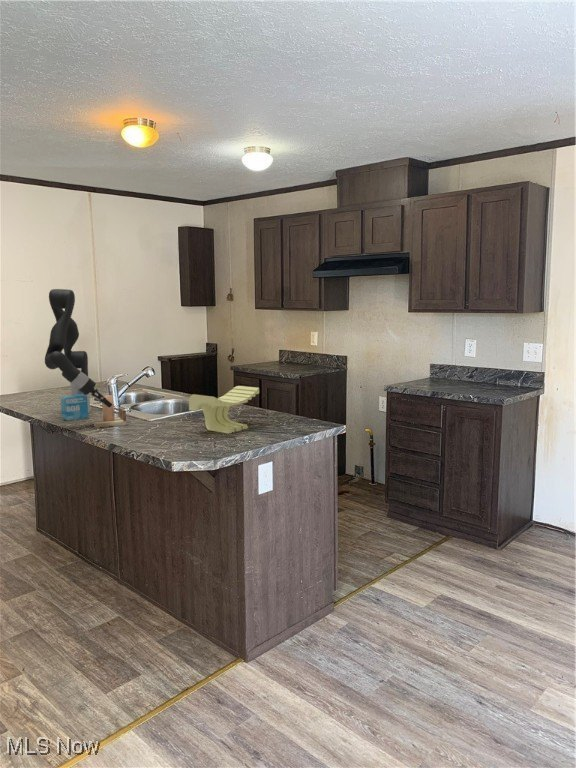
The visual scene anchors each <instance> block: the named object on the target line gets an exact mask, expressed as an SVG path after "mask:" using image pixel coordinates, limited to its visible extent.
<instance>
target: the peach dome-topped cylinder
mask: <svg viewBox="0 0 576 768" xmlns="http://www.w3.org/2000/svg"><path fill="white" fill-rule="evenodd" d="M103 395H104V394H103ZM104 397H105V398H106V399H107V400H108V401H109V402H110V403H112V406H111V407H108V406H107V405H105V404H104V403H102V402H101V406H102V419H103V421H114V417H115V409H114V408H115V407H114V395H112V394H105V395H104ZM102 399H103V398H102Z"/></svg>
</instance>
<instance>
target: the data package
mask: <svg viewBox="0 0 576 768" xmlns="http://www.w3.org/2000/svg"><path fill="white" fill-rule="evenodd" d="M60 408H61V418H62V420H64V421H67V422H70V421H69V420H71V421H76V419H77V420H81V419H82V418H84V419H87V418H88V417H89V413H88V403H87V396H85V395H82V394H80V395H72V396H71V395H66V396H62V397H61V398H60ZM82 420H83V419H82Z"/></svg>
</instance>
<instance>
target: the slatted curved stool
mask: <svg viewBox="0 0 576 768" xmlns="http://www.w3.org/2000/svg"><path fill="white" fill-rule="evenodd" d="M259 394H260V387H255V386H246V385H236V386H235V387H233V388H232V389H230V390H229V391H228V392H226V393H224V395H222V396H220V397H215V396H211V395H210V396H209V395H204V394H194V393H193V394H191V395H190V396H189V398H188V411H191V412H197V411H199V410H202V413H203V415H204V422H205V423H204V424H205V427H206V429H207V430H208V431H212V432H218V433H223V434H224V433H225V434H233V433H236V432H239V431H242V430H247V429H249V427H248V424H246V423H240V422H236V421H234V420H232V419H231V418H229V416H228V414H229V410H230V408H231V407H232V406H237V405H241V404H246V403H249V402H248V401H251V400H252V398H255V397H256V395H259ZM232 432H233V433H232Z"/></svg>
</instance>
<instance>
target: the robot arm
mask: <svg viewBox="0 0 576 768" xmlns="http://www.w3.org/2000/svg"><path fill="white" fill-rule="evenodd" d="M48 299H49V300H48V301H49V304H50V309H51V310H52V313H53V315H54V316H53V317H54V319H55V322H56V323H54V324H53V326H52V327H51V329H50V334H49V341H48V342H49V343H48V346H47V349H46V352H45V356H44V364H45V366H46V368H48V369H49V370H56V369H59V370H60V371H61V376H62V377H63V378H64V379H65V380H67V381H68V382H69V383H70V393H71V395H70V396H72V395H80V394H82V395H85V396H87V403H88V414H90V413H91V410H92V409H91V400H90V399H91V398H90V397H93V398H95V399H96V400H97V401H99V402H101V404H102V403H104V404H105V405H107V406H108V407H111V406H112V403H110V402H109V401H108V400H107V399H106V398H105V397H104V394H102V392H101V391H100V390H99V389H97V388H96V389H95V387H96V385H97V383H96V382H95V381H94V380H93V379H91V377H89V363H88V362H89V357H88V353H87V352H86V351H85V350H72V349H73V347H74V345H76V343H77V341H78V339H79V337H80V336H79V335H80V332H79V327H78V324H77V323H76V321H75V320H74V319H73V318H72V315H73V311H74V309H75V302H76V296H75V293H74V290H72V289H63V288H53V289H50V290H49V292H48ZM63 352H64V353H63ZM102 398H103V399H102Z"/></svg>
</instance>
